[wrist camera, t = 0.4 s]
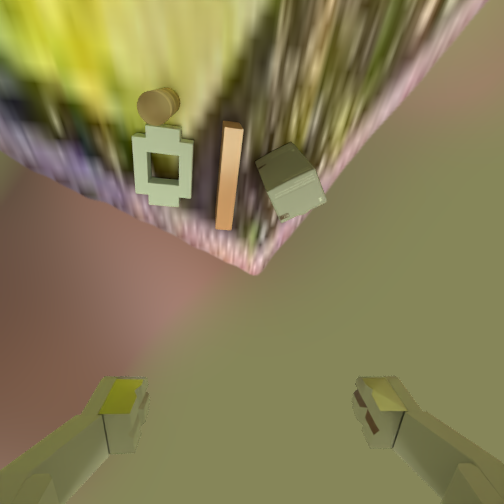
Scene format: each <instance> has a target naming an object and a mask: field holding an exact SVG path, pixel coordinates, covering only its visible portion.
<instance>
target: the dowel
mask: <svg viewBox="0 0 504 504" xmlns="http://www.w3.org/2000/svg"><path fill="white" fill-rule="evenodd" d="M179 107H180V99H179V96H178V94H177V93H176V92H175V91H174V90H172V89H170V88H161V89H157V90H152V91H147V92H144V93H143V94H142V95H141V96H140V97H139V99H138V102H137V109H138V113H139V115H140V117H141V118H142V119H143V120H144V121H145V122H146V123H148V124H150V125H153V126H159V125H162V124H164V123H165V122H166V121H167V120H168V119H169V118H170V117H171V116H172V115H173V114H174V113H176V112H177V111H178V109H179Z"/></svg>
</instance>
